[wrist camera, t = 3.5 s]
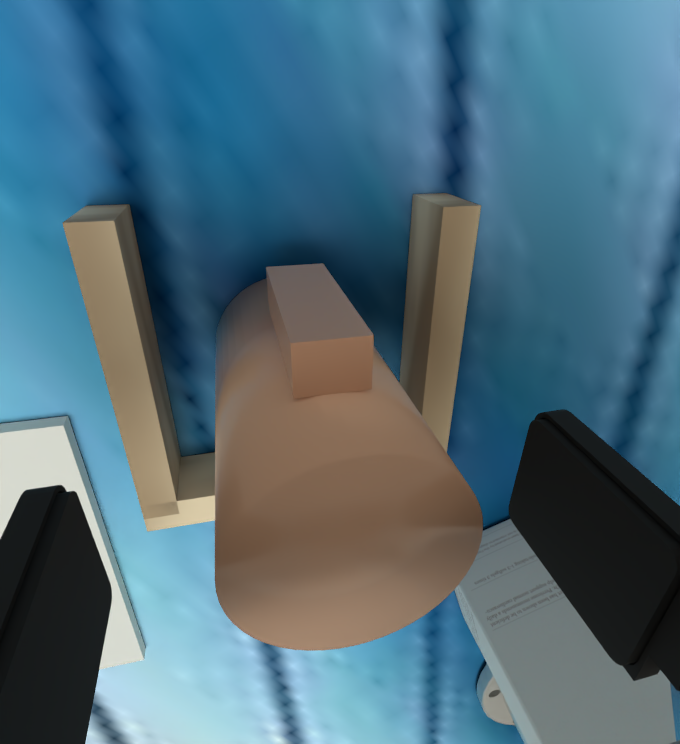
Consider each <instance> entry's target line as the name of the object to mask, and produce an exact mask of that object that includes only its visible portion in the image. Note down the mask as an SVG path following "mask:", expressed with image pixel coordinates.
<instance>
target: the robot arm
mask: <svg viewBox="0 0 680 744" xmlns="http://www.w3.org/2000/svg"><path fill="white" fill-rule="evenodd" d="M509 515H510V518H511V521H512V522H513V524H514V525H515V527H516V528H517V530H518V531H519V532H520V534H521V535H522V536H523V538H524V539H525V541H526V542H527V543H528V545H529V546H530V548H531V549H532V550H533V552H534V553H535V554H536V556H537V557H538V559H539V560H540V561H541V563H542V564H543V566H544V567H545V568H546V570H547V571H548V572H549V574H550V575H551V577H552V578H553V579H554V581H555V582H556V583H557V585H558V586H559V588H560V589H561V590H562V592H563V593H564V595H565V596H566V597H567V599H568V600H569V601H570V603H571V604H572V606H573V607H574V608H575V610H576V611H577V613H578V614H579V615H580V617H581V618H582V619H583V621H584V622H585V624H586V625H587V626H588V628H589V629H590V631H591V632H592V633H593V635H594V636H595V637H596V639H597V640H598V642H599V643H600V644H601V646H602V647H603V649H604V650H605V651H606V653H607V654H608V655H609V657H610V658H611V659H612V660H613V661H614V662H615V663H616V664H618V665H620V666H623V667H624V669H625V670H626V671H627V673H628V674H629V675H630V677H631V678H632V679H633V681H636V680H640V679H643V678H646V677H650V676H653V675H656V674H658V673H659V671H660V670H661V671H662V672H663V674H664V675H665V676H666V677H667V679H668V680H669V681H670V687H671V697H672V706H673V716H674V726H675V735H676V741H675V742H672V743H669V744H680V506H679V505H678V504H677V503H675V502H674V501H673V500H672V499H671V498H670V497H668V496H667V495H666V494H665V493H664V492H663V491H661V490H660V489H659V488H658V487H657V486H656V485H654V484H653V483H652V482H651V481H650V480H649V479H647V478H646V477H645V476H644V475H643V474H642V473H640V472H639V471H638V470H637V469H636V468H635V467H634V466H632V465H631V464H630V463H629V462H628V461H627V460H625V459H624V458H623V457H622V456H621V455H620V454H618V453H617V452H616V451H615V450H614V449H613V448H611V447H610V446H609V445H608V444H607V443H606V442H604V441H603V440H602V439H601V438H600V437H599V436H597V435H596V434H595V433H594V432H593V431H592V430H590V429H589V428H588V427H587V426H586V425H585V424H584V423H582V422H581V421H580V420H579V419H578V418H577V417H575V416H574V415H573V414H572V413H571V412H569V411H567V410H556V411H549V412H543V413H539V414H538V415H537V416H536V418H535V420H534V421H532V422H531V423H530V426H529V429H528V433H527V437H526V441H525V445H524V449H523V453H522V457H521V460H520V464H519V468H518V472H517V476H516V480H515V484H514V488H513V492H512V496H511V500H510V504H509ZM111 603H112V589H111V584H110V581H109V578H108V576H107V573H106V570H105V567H104V565H103V562H102V559H101V557H100V554H99V551H98V549H97V546H96V543H95V540H94V538H93V535H92V532H91V530H90V527H89V524H88V522H87V519H86V516H85V513H84V511H83V508H82V505H81V503H80V500H79V497H78V495H77V493H76V492H75V491H69V492H67V491H66V489H65V487H64V486H62V485H55V486H48V487H42V488H35V489H28V490H25V491H24V492H23V493H22V494H21V496H20V498H19V500H18V502H17V504H16V507H15V509H14V511H13V513H12V515H11V517H10V519H9V521H8V524H7V526H6V528H5V530H4V532H3V534H2V536H1V538H0V744H85V741H86V736H87V731H88V725H89V720H90V715H91V709H92V704H93V699H94V693H95V688H96V683H97V678H98V672H99V667H100V662H101V656H102V651H103V646H104V641H105V635H106V630H107V625H108V619H109V614H110V609H111ZM477 696H478V698H479V701H480V703H481V706H482V708H483V710H484V712H485V713H486V715H487V716H488V717H489V718H491V719H492V720H494V721H496V722H499V723H502V724H507V725H515V726H516V728H517V730H518V732H519V734H520V736H521V738H522V740H523V742H524V744H527V742H526V740H525V738H524V736H523V734H522V732H521V730H520V728H519V726H518V724H517V722H516V720H515V718H514V716H513V714H512V712H511V710H510V708H509V706H508V704H507V702H506V700H505V698H504V696H503V694H502V692H501V690H500V688H499V686H498V684H497V682H496V680H495V678H494V676H493V674H492V672H491V670H490V668H489V666H488V664H486V665H485V667H484V669H483V670H482V672H481V674H480V677H479V680H478V683H477Z"/></svg>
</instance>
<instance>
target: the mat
mask: <svg viewBox="0 0 680 744" xmlns="http://www.w3.org/2000/svg"><path fill="white" fill-rule="evenodd" d="M55 485H62V486H64V487H65V489H66V491H67V492H69V491H75V492H76V493H77V495H78V497H79V500H80V503H81V505H82V508H83V511H84V513H85V516H86V519H87V522H88V524H89V527H90V530H91V532H92V535H93V538H94V540H95V543H96V546H97V549H98V551H99V554H100V557H101V559H102V562H103V565H104V567H105V570H106V573H107V576H108V578H109V581H110V584H111V589H112V603H111V609H110V614H109V619H108V625H107V630H106V635H105V641H104V646H103V651H102V656H101V662H100V667H99V669H104V668H108V667H113V666H118V665H122V664H127V663H132V662H136V661H141V660H144V656H145V645H144V642H143V639H142V636H141V633H140V630H139V627H138V624H137V621H136V618H135V615H134V612H133V609H132V606H131V603H130V600H129V597H128V594H127V591H126V588H125V585H124V582H123V579H122V576H121V573H120V570H119V567H118V564H117V561H116V558H115V555H114V552H113V549H112V546H111V543H110V540H109V537H108V534H107V531H106V528H105V525H104V522H103V519H102V516H101V513H100V510H99V507H98V504H97V501H96V498H95V495H94V492H93V489H92V486H91V483H90V480H89V477H88V474H87V471H86V468H85V465H84V462H83V459H82V456H81V453H80V450H79V447H78V444H77V442H76V439H75V436H74V433H73V430H72V427H71V424H70V421H69V418H68V416H63V417H54V418H46V419H37V420H29V421H20V422H11V423H3V424H0V538H1V536H2V534H3V532H4V530H5V528H6V526H7V524H8V521H9V519H10V517H11V515H12V513H13V511H14V509H15V507H16V504H17V502H18V500H19V498H20V496H21V494H22V493H23V492H24V491H25V490H28V489H35V488H42V487H48V486H55Z"/></svg>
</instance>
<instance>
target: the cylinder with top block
mask: <svg viewBox="0 0 680 744" xmlns="http://www.w3.org/2000/svg"><path fill="white" fill-rule="evenodd" d="M266 276H267V279H263V280H261V281H259V282H256V283H254V284H252V285H251V286H249V287H247V288H246V289H244V290H243V291H242V292H240V293H239V294H238V295H237V296H236V297H235V298H234V299H233V300H232V301H231V302H230V303H229V305H228V306H227V307H226V309H225V311H224V312H223V314H222V316H221V318H220V321H219V323H218V327H217V331H216V340H215V586H216V593H217V596H218V600H219V603H220V605H221V607H222V609H223V610H224V612H225V614H226V615H227V616H228V618H229V619H230V620H231V621H232V622H233V624H235V625H236V626H237V627H238V628H239V629H241V630H242V631H243V632H245V633H246V634H248V635H250V636H251V637H253V638H255V639H257V640H260V641H262V642H264V643H267V644H270V645H274V646H277V647H282V648H288V649H294V650H329V649H339V648H344V647H349V646H354V645H358V644H362V643H366V642H369V641H372V640H375V639H378V638H381V637H384V636H386V635H388V634H391V633H393V632H395V631H397V630H399V629H401V628H403V627H405V626H407V625H409V624H411V623H413V622H414V621H416V620H417V619H419V618H421V617H422V616H424V615H425V614H427V613H428V612H429V611H431V610H432V609H433V608H435V607H436V606H437V605H438V604H440V603H441V602H442V601H443V600H444V599H445V598H446V597H447V596H448V595H449V594H450V593H451V592H452V591H453V590H454V589H455V588H456V587H457V586H458V585H459V583H460V582H461V581H462V579H463V578H464V577H465V575H466V574H467V572H468V571H469V569H470V567H471V566H472V564H473V562H474V560H475V558H476V555H477V553H478V550H479V547H480V543H481V540H482V532H483V517H482V512H481V508H480V504H479V502H478V500H477V498H476V496H475V494H474V492H473V491H472V489H471V488H470V486H469V485H468V483H467V482H466V481H465V479H464V478H463V476H462V475H461V473H460V472H459V470H458V469H457V467H456V466H455V464H454V463H453V461H452V460H451V458H450V457H449V455H448V454H447V452H446V451H445V450H444V448H443V447H442V445H441V444H440V442H439V441H438V439H437V438H436V436H435V435H434V433H433V432H432V430H431V429H430V427H429V426H428V424H427V423H426V421H425V420H424V419H423V417H422V416H421V414H420V413H419V411H418V410H417V408H416V407H415V405H414V404H413V402H412V401H411V399H410V398H409V396H408V395H407V393H406V392H405V390H404V389H403V388H402V386H401V385H400V383H399V382H398V380H397V379H396V377H395V376H394V374H393V373H392V371H391V370H390V368H389V367H388V365H387V364H386V362H385V361H384V360H383V358H382V357H381V355H380V354H379V352H378V351H377V349H376V348H375V346H374V335H373V333H372V332H371V330H370V329H369V328H368V326H367V325H366V323H365V322H364V320H363V319H362V318H361V316H360V315H359V313H358V312H357V311H356V309H355V308H354V306H353V305H352V304H351V302H350V301H349V299H348V298H347V296H346V295H345V294H344V292H343V291H342V289H341V288H340V287H339V285H338V284H337V282H336V281H335V280H334V278H333V277H332V275H331V274H330V272H329V271H328V270H327V268H326V267H325V265H324V264H323V263H320V264H304V265H288V266H273V267H266Z"/></svg>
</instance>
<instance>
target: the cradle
mask: <svg viewBox="0 0 680 744" xmlns="http://www.w3.org/2000/svg"><path fill="white" fill-rule="evenodd" d="M480 210H481V205H478V204H475V203H473V202H470V201H467V200H464V199H461V198H458V197H456V196H453V195H450V194H447V193H436V194H413V200H412V214H411V228H410V242H409V256H408V270H407V284H406V298H405V311H404V325H403V339H402V353H401V367H400V381H399V383H400V385H401V386H402V388H403V389H404V390H405V392H406V393H407V395H408V396H409V398H410V399H411V401H412V402H413V404H414V405H415V407H416V408H417V410H418V411H419V413H420V414H421V416H422V417H423V419H424V420H425V421H426V423H427V424H428V426H429V427H430V429H431V430H432V432H433V433H434V435H435V436H436V438H437V439H438V441H439V442H440V444H441V445H442V447H443V448H444V450H445V451H446V452H447V446H448V439H449V432H450V425H451V418H452V411H453V403H454V396H455V389H456V382H457V375H458V368H459V361H460V353H461V346H462V339H463V332H464V325H465V318H466V310H467V303H468V296H469V289H470V282H471V275H472V267H473V260H474V253H475V246H476V239H477V232H478V224H479V217H480ZM63 227H64V230H65V234H66V238H67V241H68V245H69V248H70V252H71V256H72V259H73V263H74V267H75V270H76V274H77V277H78V281H79V285H80V288H81V292H82V296H83V299H84V303H85V306H86V310H87V314H88V317H89V321H90V325H91V328H92V332H93V336H94V339H95V343H96V346H97V350H98V354H99V357H100V361H101V365H102V368H103V372H104V375H105V379H106V383H107V386H108V390H109V394H110V397H111V401H112V404H113V408H114V412H115V415H116V419H117V423H118V426H119V430H120V433H121V437H122V441H123V444H124V448H125V452H126V455H127V459H128V463H129V466H130V470H131V473H132V477H133V481H134V484H135V488H136V492H137V495H138V499H139V502H140V506H141V510H142V513H143V517H144V521H145V524H146V528H147V531H153V530H159V529H165V528H172V527H178V526H184V525H190V524H196V523H202V522H208V521H214V520H215V452H214V453H207V454H199V455H192V456H185V457H181V454H180V449H179V444H178V439H177V434H176V429H175V425H174V420H173V415H172V410H171V405H170V400H169V395H168V390H167V386H166V381H165V376H164V371H163V366H162V361H161V356H160V351H159V347H158V342H157V337H156V332H155V327H154V322H153V317H152V312H151V308H150V303H149V298H148V293H147V288H146V283H145V278H144V273H143V269H142V264H141V259H140V254H139V249H138V244H137V239H136V234H135V230H134V225H133V220H132V215H131V210H130V205H129V204H123V205H94V206H85V207H84V208H82V209H81V210H79V211H78V212H77V213H75V214H74V215H73V216H71V217H70V218H68V219H67V220H66V221H64V222H63Z"/></svg>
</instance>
